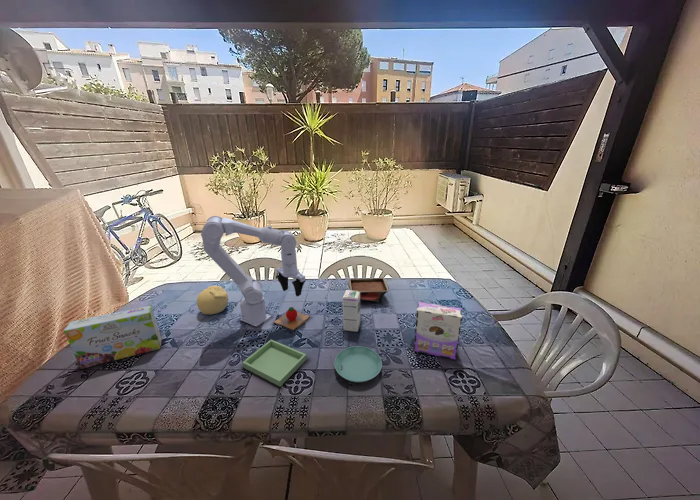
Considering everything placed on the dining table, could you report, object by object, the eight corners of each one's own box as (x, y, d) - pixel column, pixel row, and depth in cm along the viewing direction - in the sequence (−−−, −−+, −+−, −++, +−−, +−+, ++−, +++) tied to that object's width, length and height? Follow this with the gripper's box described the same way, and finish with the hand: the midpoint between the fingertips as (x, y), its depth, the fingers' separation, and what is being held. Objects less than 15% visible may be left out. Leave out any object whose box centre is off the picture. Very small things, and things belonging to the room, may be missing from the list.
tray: (243, 368, 85) (242, 362, 84) (271, 345, 95) (270, 339, 94) (280, 388, 78) (279, 381, 77) (306, 360, 88) (306, 354, 87)
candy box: (455, 348, 93) (462, 307, 87) (455, 360, 88) (463, 317, 82) (414, 340, 97) (418, 300, 91) (412, 351, 92) (416, 309, 86)
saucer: (336, 351, 92) (336, 345, 91) (379, 352, 91) (380, 346, 90) (332, 387, 78) (332, 380, 77) (383, 388, 78) (384, 381, 77)
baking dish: (386, 310, 119) (390, 289, 116) (346, 304, 118) (349, 283, 116) (382, 295, 133) (386, 277, 130) (346, 290, 132) (349, 271, 129)
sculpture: (232, 311, 115) (228, 289, 111) (201, 321, 108) (195, 297, 105) (227, 300, 124) (223, 279, 120) (197, 308, 117) (192, 286, 114)
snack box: (79, 371, 84) (61, 330, 79) (86, 359, 89) (69, 320, 84) (160, 349, 93) (149, 311, 88) (162, 339, 98) (152, 303, 93)
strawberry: (284, 320, 108) (283, 309, 106) (291, 314, 111) (290, 304, 110) (292, 323, 106) (291, 312, 104) (299, 317, 109) (299, 307, 108)
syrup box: (358, 332, 102) (358, 298, 97) (342, 330, 103) (342, 296, 98) (360, 323, 107) (360, 290, 102) (345, 321, 108) (345, 289, 103)
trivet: (273, 323, 107) (273, 321, 107) (290, 311, 115) (290, 309, 115) (293, 331, 102) (293, 329, 102) (309, 317, 111) (309, 316, 110)
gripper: (309, 263, 105) (311, 293, 110) (284, 255, 113) (287, 284, 118) (296, 269, 100) (299, 301, 105) (270, 260, 108) (274, 290, 113)
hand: (292, 292), depth 111 cm, fingers open, 7 cm apart
